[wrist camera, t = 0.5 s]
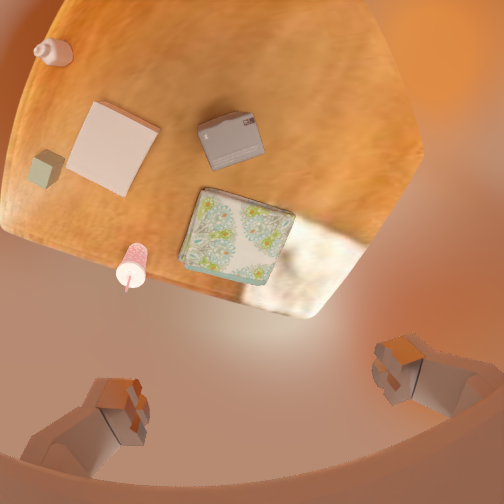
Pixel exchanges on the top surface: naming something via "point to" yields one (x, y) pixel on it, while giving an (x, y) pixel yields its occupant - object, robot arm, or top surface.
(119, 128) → the storage box
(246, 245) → the towel
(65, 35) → the top surface
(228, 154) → the skincare box
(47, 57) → the eye dropper bottle
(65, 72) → the top surface
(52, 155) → the green block
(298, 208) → the top surface
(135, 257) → the beverage cup
